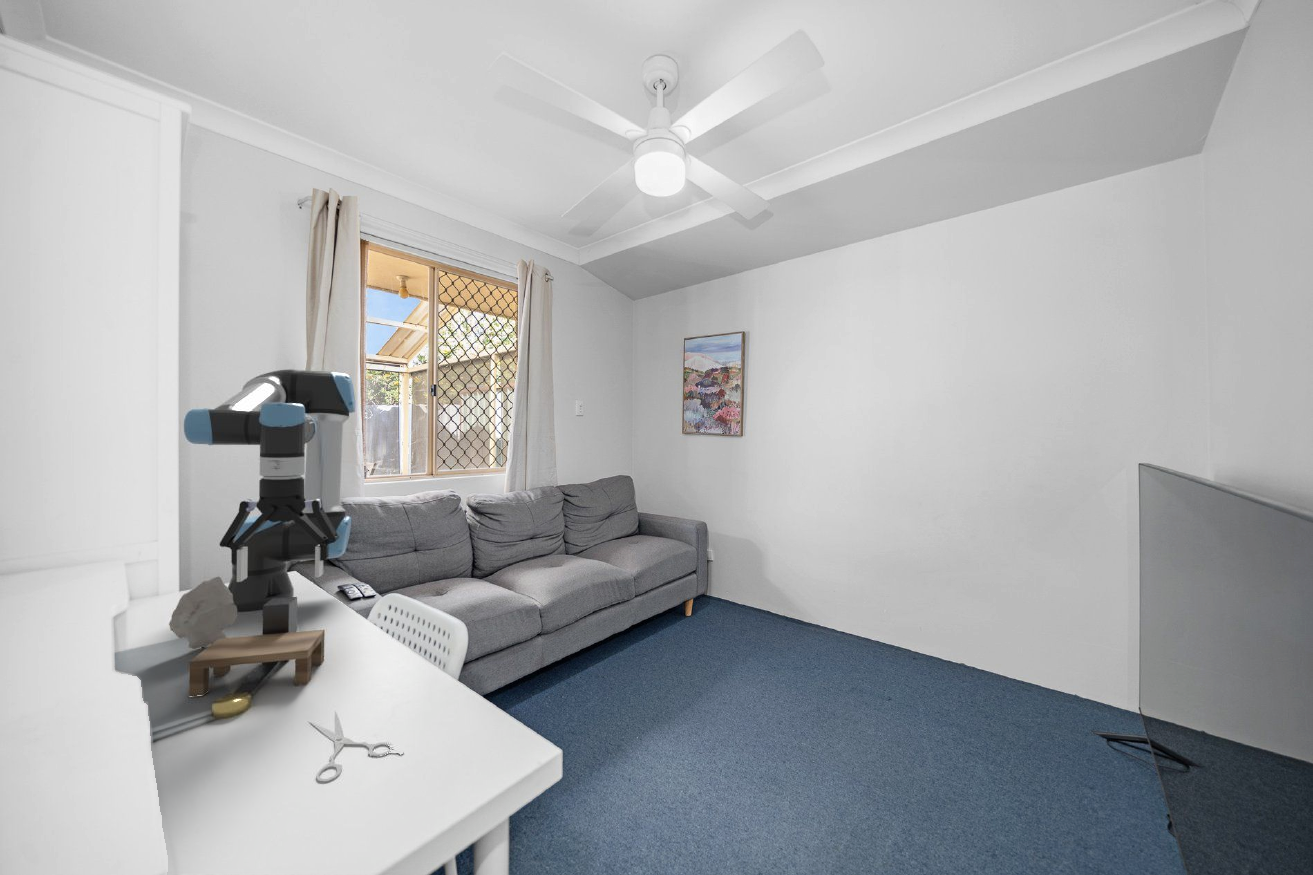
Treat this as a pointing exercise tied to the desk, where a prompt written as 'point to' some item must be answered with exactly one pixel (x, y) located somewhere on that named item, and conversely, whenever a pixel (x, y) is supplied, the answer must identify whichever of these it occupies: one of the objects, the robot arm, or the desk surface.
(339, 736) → the scissors
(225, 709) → the disc
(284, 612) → the dark grey l-shaped block
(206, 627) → the stone tool
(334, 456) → the robot arm
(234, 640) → the stand
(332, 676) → the desk surface
